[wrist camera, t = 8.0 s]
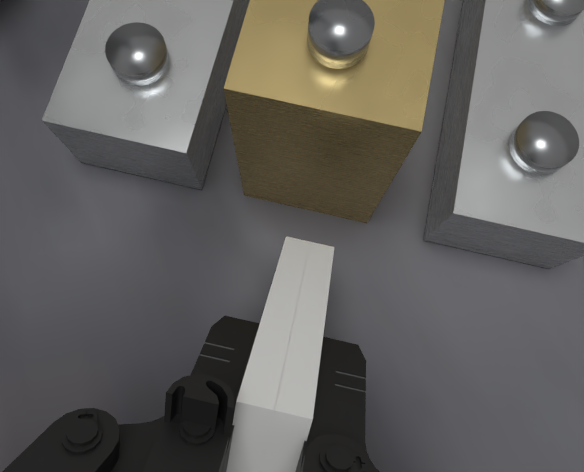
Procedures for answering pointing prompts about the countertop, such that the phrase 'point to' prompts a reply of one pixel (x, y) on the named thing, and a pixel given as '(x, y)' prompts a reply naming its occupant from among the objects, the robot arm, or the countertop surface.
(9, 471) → the robot arm
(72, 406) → the countertop surface
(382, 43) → the gold studded block
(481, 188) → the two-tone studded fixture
